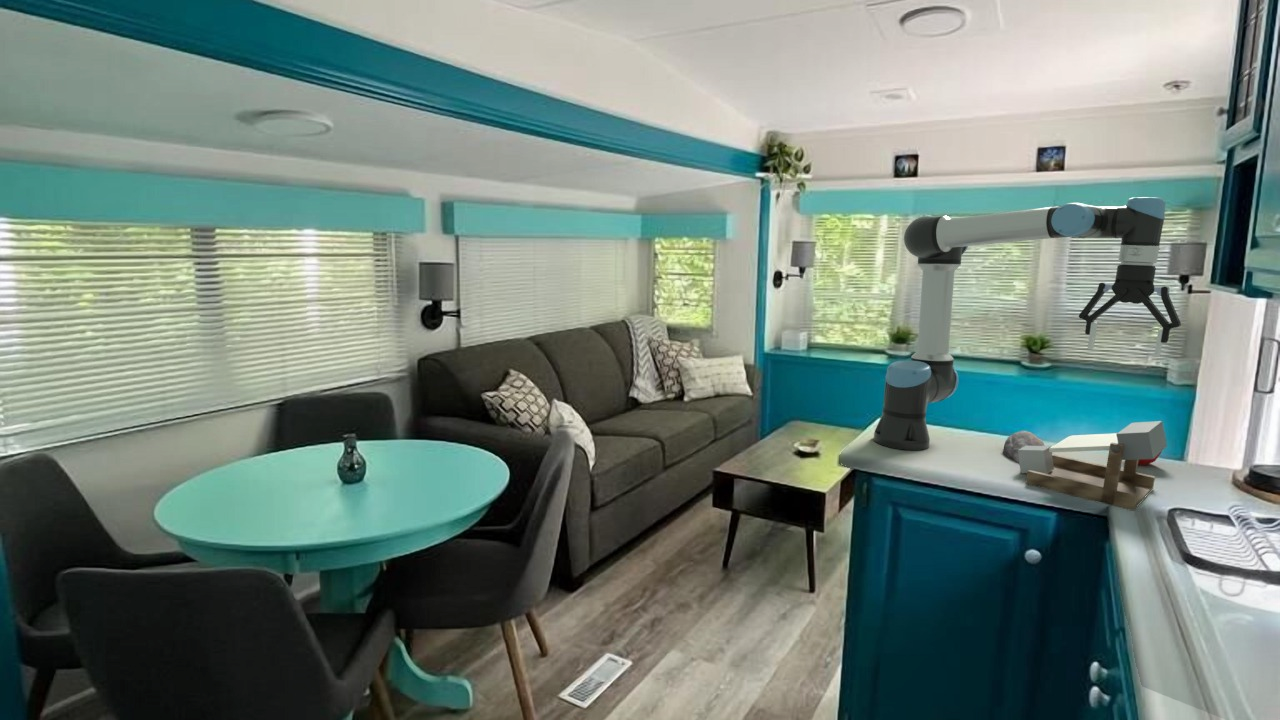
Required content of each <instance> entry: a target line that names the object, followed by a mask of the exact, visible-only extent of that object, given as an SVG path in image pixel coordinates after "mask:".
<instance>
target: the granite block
mask: <svg viewBox="0 0 1280 720" xmlns="http://www.w3.org/2000/svg"><path fill="white" fill-rule="evenodd" d="M1050 447H1052V445H1045V446H1024V447H1022V448H1021V449H1019V450H1018V454H1019V462H1018V463H1019V470H1020V471H1019V472H1022V473H1021V474H1027V471H1028V470H1032V471H1037V472H1041V473H1045V474H1048V473H1049V472H1051V471H1052V470H1054V466H1053V457H1052V455H1053V452H1050V451H1049V448H1050Z"/></svg>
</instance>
